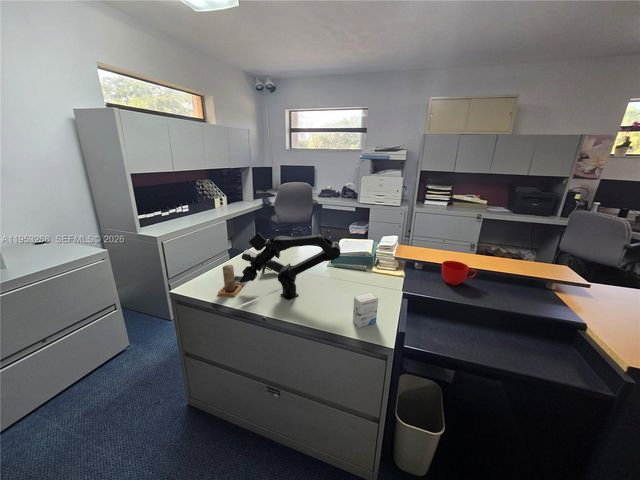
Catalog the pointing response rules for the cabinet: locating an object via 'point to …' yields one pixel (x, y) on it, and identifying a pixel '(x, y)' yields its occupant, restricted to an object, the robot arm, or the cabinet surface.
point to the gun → (273, 266)
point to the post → (229, 278)
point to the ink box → (365, 309)
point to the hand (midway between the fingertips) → (243, 278)
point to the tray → (237, 288)
